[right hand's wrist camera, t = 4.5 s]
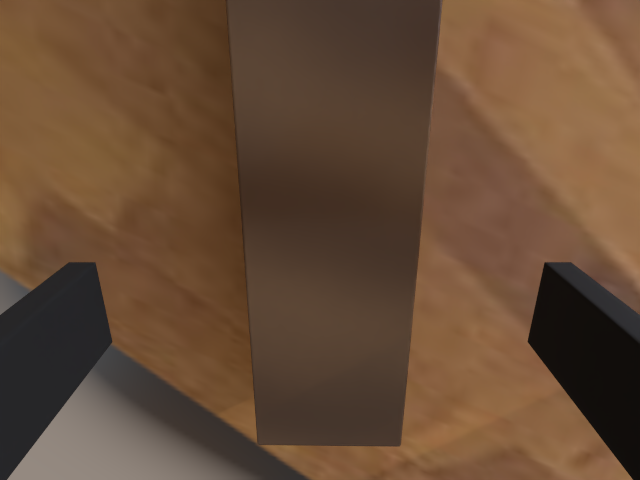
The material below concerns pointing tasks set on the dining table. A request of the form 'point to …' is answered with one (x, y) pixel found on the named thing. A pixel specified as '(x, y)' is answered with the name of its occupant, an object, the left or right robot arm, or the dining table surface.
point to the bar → (331, 207)
